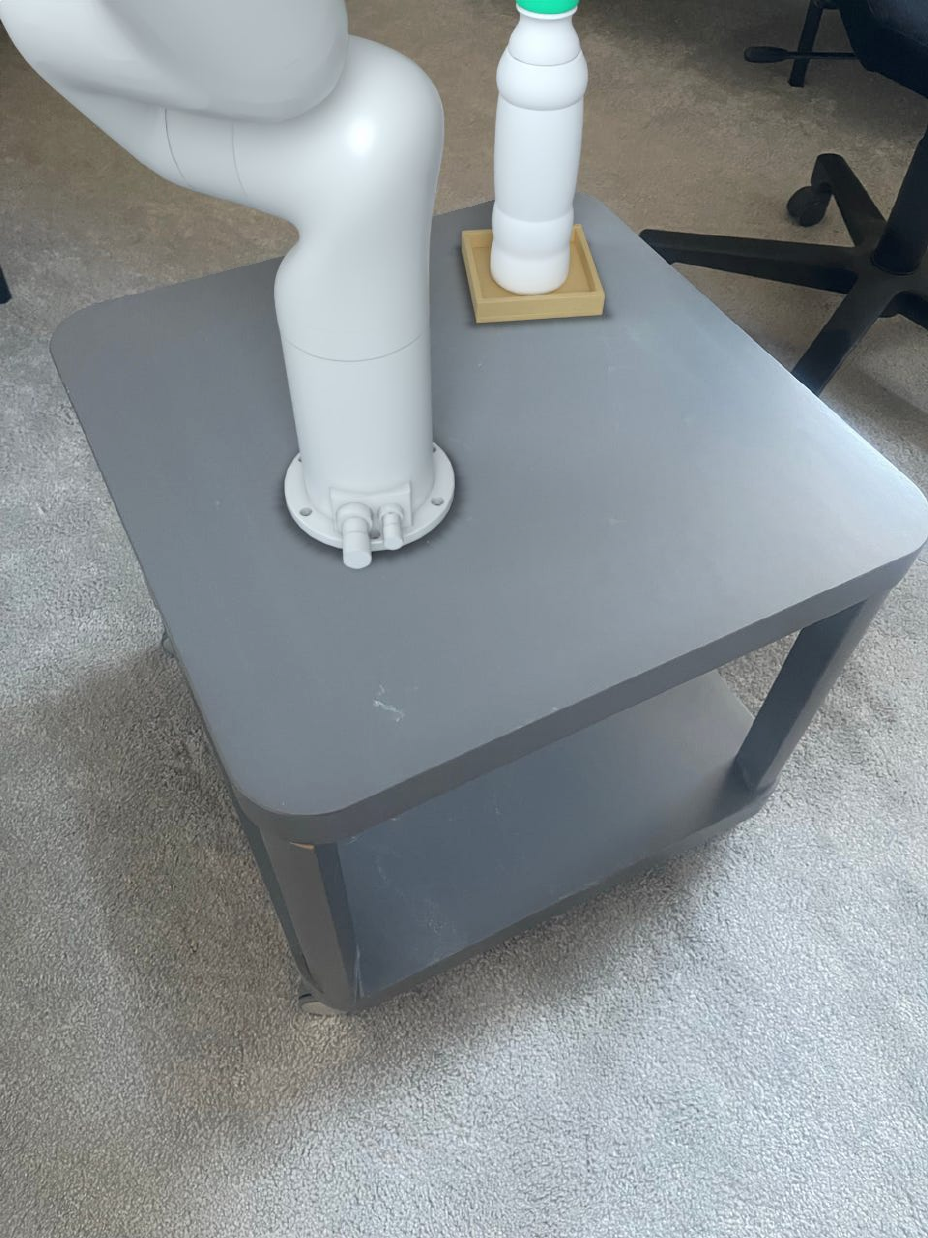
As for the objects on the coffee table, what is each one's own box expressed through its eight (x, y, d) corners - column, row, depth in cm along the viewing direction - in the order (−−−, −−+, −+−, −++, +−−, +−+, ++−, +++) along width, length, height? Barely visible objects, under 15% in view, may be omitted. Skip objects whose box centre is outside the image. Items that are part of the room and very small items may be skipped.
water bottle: (480, 291, 90) (487, -21, 70) (502, 248, 94) (514, -58, 74) (557, 305, 89) (587, -8, 69) (575, 261, 93) (608, -46, 73)
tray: (602, 315, 89) (605, 294, 87) (476, 323, 88) (476, 302, 86) (579, 243, 96) (581, 223, 94) (461, 250, 95) (461, 230, 93)
